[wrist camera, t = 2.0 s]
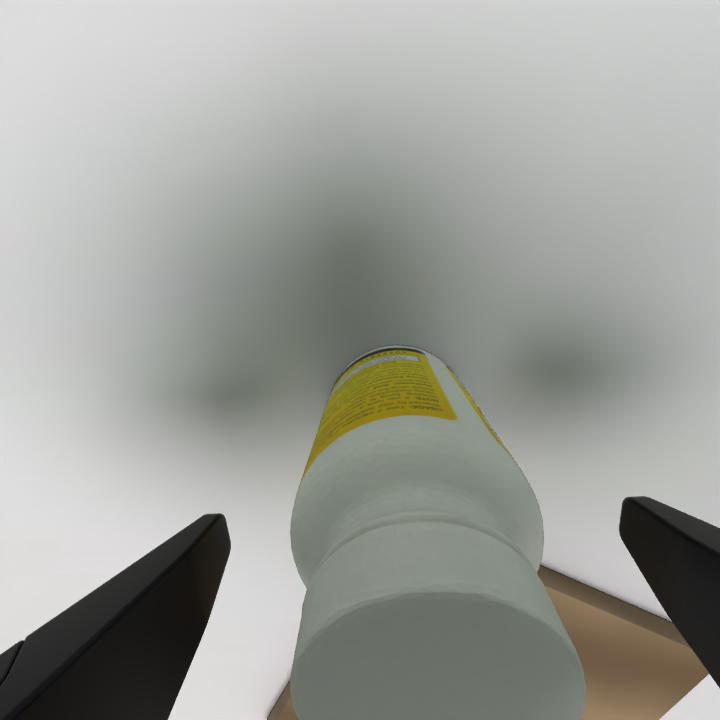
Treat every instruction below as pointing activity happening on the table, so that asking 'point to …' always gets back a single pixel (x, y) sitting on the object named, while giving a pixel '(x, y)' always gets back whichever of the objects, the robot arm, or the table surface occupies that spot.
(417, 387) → the supplement bottle
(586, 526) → the table surface
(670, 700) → the collar board
